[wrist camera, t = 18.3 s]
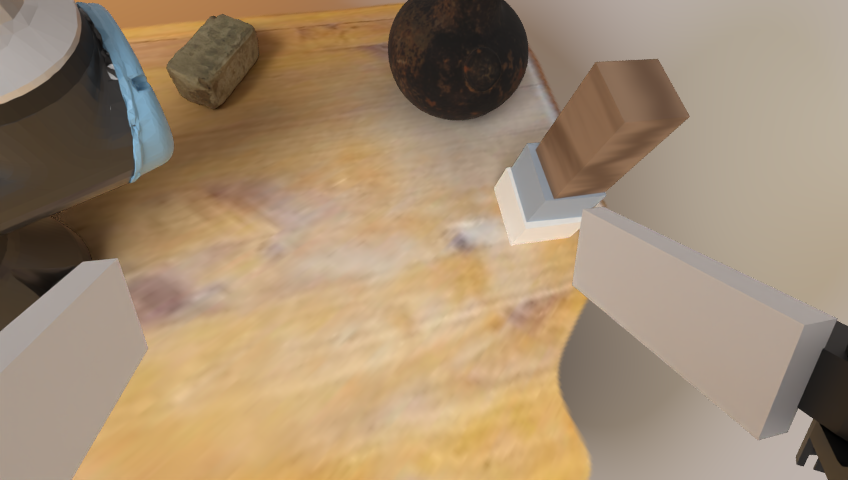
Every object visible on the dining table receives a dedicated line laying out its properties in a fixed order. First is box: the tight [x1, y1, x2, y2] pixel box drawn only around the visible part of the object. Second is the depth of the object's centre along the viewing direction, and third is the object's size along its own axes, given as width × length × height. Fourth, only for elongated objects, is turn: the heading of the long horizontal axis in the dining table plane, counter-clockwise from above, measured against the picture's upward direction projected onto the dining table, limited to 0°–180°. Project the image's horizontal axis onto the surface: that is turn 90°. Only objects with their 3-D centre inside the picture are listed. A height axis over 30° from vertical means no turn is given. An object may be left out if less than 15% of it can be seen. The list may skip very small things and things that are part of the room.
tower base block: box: [494, 167, 582, 245], centre depth 50 cm, size 8×8×5 cm
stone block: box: [167, 14, 259, 109], centre depth 51 cm, size 6×12×5 cm, turn 161°
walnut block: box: [536, 59, 689, 199], centre depth 38 cm, size 6×6×12 cm
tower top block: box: [511, 143, 606, 222], centre depth 46 cm, size 7×7×5 cm
